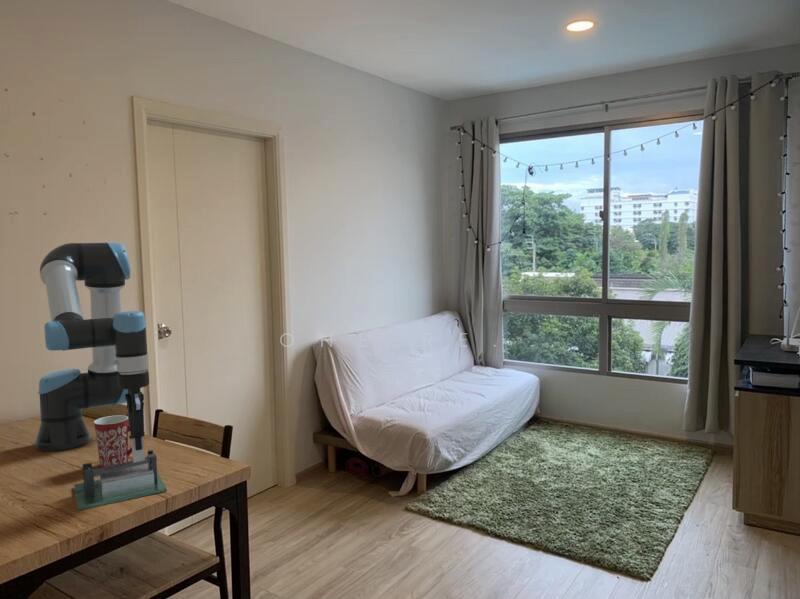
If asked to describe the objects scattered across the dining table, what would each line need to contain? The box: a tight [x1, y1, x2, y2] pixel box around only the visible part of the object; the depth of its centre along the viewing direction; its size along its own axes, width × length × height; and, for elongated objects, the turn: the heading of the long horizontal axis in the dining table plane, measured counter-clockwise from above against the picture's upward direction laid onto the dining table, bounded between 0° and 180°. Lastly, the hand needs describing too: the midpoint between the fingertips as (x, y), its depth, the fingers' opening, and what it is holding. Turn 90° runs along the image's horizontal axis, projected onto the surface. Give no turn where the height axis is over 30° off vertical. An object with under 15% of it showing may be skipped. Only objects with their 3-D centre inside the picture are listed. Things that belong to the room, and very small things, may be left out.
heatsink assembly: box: [73, 449, 168, 511], centre depth 153 cm, size 20×16×8 cm
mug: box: [93, 414, 132, 469], centre depth 172 cm, size 13×9×14 cm
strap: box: [93, 452, 158, 478], centre depth 153 cm, size 17×3×2 cm, turn 121°
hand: (138, 460), depth 155 cm, fingers closed
